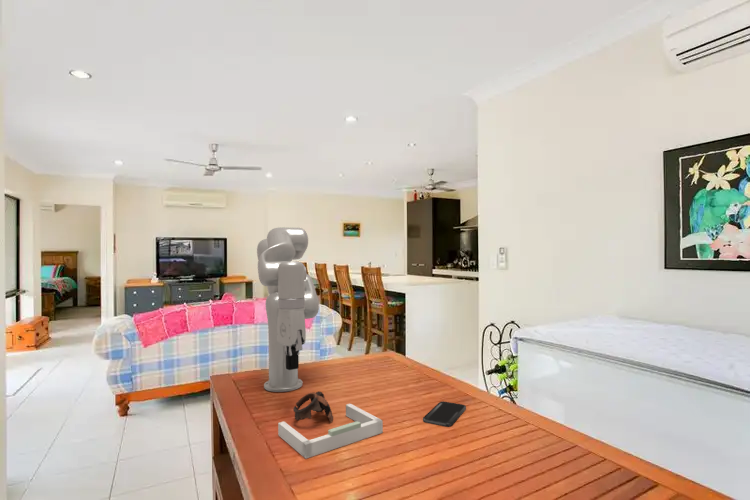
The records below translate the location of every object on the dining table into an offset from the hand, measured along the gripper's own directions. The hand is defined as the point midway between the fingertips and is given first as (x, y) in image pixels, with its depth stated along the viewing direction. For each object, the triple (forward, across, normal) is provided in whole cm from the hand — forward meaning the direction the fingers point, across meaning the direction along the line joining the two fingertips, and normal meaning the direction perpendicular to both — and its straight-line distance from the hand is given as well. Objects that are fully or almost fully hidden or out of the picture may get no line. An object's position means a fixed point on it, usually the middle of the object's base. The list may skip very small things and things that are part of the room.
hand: (292, 368), depth 117 cm
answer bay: (+12, +21, 0) cm, 24 cm away
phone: (+12, +30, +31) cm, 45 cm away
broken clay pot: (+12, +10, +2) cm, 16 cm away
